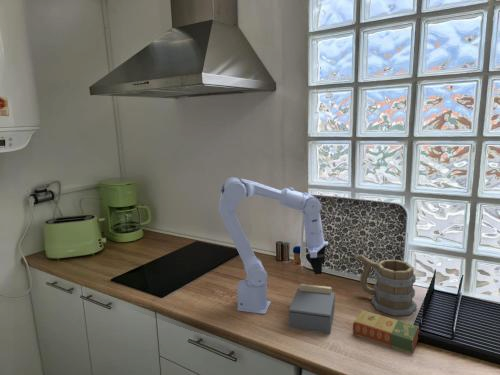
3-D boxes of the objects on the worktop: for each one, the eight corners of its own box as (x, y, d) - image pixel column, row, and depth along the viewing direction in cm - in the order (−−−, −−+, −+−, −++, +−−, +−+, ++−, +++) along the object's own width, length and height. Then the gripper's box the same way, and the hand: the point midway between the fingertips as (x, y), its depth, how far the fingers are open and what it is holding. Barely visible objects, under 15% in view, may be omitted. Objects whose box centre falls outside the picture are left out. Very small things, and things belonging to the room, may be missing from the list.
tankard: (420, 304, 117) (423, 261, 114) (405, 320, 108) (407, 274, 105) (363, 286, 130) (364, 247, 128) (346, 299, 122) (346, 257, 119)
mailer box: (289, 327, 106) (289, 312, 105) (297, 304, 119) (297, 290, 118) (330, 333, 102) (330, 317, 101) (334, 309, 115) (334, 295, 114)
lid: (289, 311, 105) (289, 303, 105) (297, 289, 118) (297, 283, 118) (330, 316, 101) (330, 309, 101) (334, 294, 114) (334, 287, 114)
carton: (362, 321, 109) (362, 308, 108) (419, 338, 99) (419, 324, 99) (352, 335, 102) (352, 321, 101) (412, 354, 93) (413, 339, 92)
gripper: (323, 238, 109) (329, 278, 112) (328, 222, 122) (333, 258, 125) (300, 239, 111) (307, 279, 114) (308, 223, 125) (313, 259, 127)
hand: (319, 268), depth 120 cm, fingers open, 7 cm apart
